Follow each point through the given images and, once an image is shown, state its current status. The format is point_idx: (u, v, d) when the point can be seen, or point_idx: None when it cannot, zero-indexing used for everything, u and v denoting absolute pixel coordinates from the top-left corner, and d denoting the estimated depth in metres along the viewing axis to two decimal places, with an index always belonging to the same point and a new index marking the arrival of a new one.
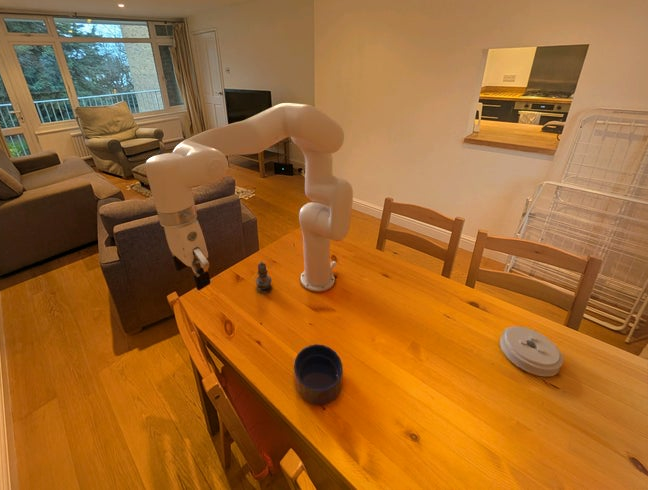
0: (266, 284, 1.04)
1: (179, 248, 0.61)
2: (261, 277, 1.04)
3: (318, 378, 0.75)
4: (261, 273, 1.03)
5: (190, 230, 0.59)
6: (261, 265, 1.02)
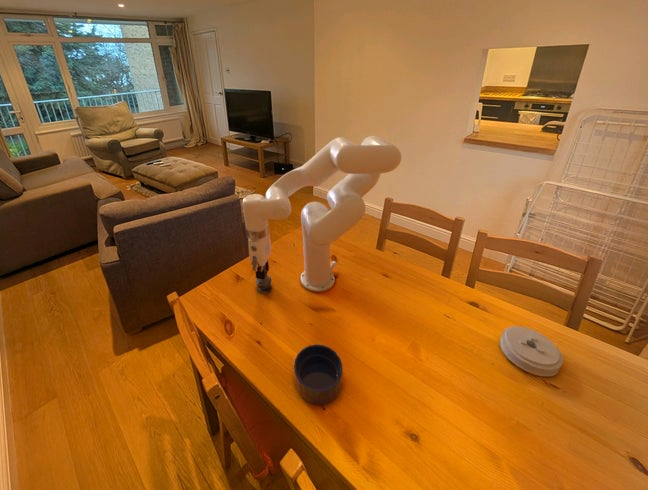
0: (266, 284, 1.04)
1: None
2: None
3: (318, 378, 0.75)
4: None
5: (253, 244, 0.94)
6: None
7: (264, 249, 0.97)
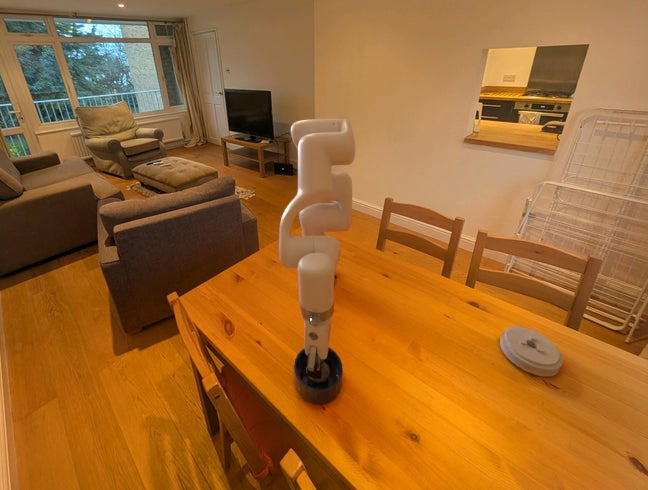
0: (323, 378, 0.72)
1: None
2: None
3: None
4: None
5: (312, 330, 0.62)
6: None
7: (327, 334, 0.64)
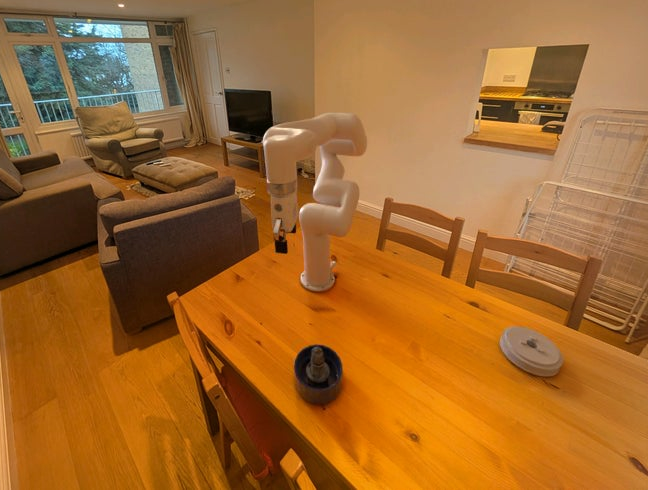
0: (323, 378, 0.72)
1: None
2: (316, 368, 0.72)
3: None
4: (317, 364, 0.71)
5: (277, 202, 0.71)
6: (317, 353, 0.70)
7: (291, 209, 0.73)
